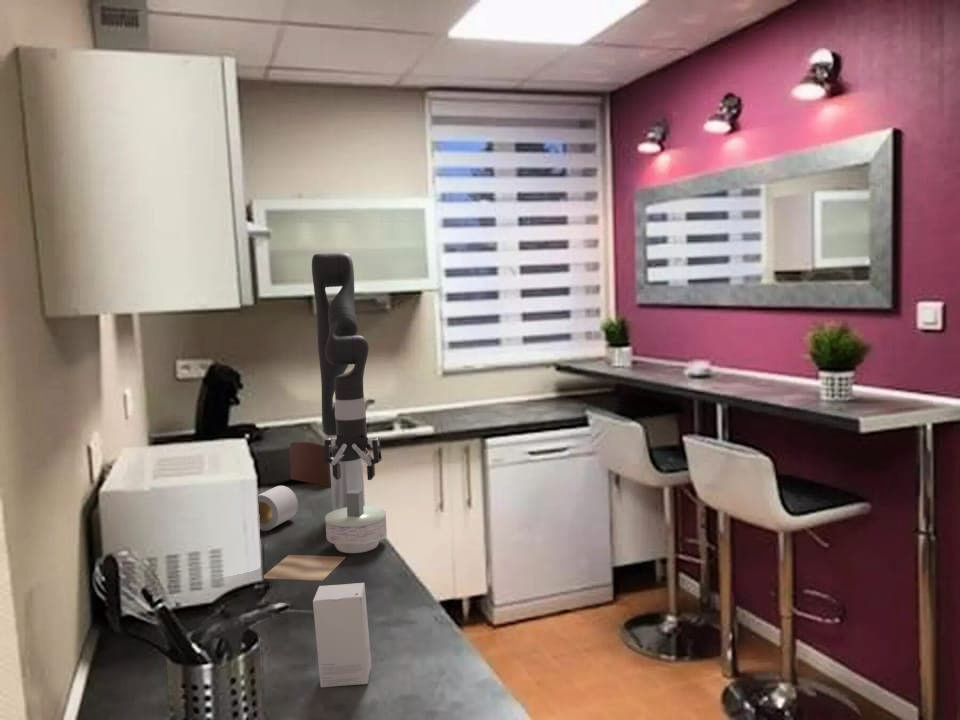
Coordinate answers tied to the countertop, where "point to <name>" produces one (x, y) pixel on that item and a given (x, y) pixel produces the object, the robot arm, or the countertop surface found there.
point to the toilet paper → (276, 506)
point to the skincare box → (342, 635)
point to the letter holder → (309, 463)
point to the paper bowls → (356, 537)
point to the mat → (304, 567)
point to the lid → (355, 512)
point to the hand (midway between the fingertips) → (354, 479)
